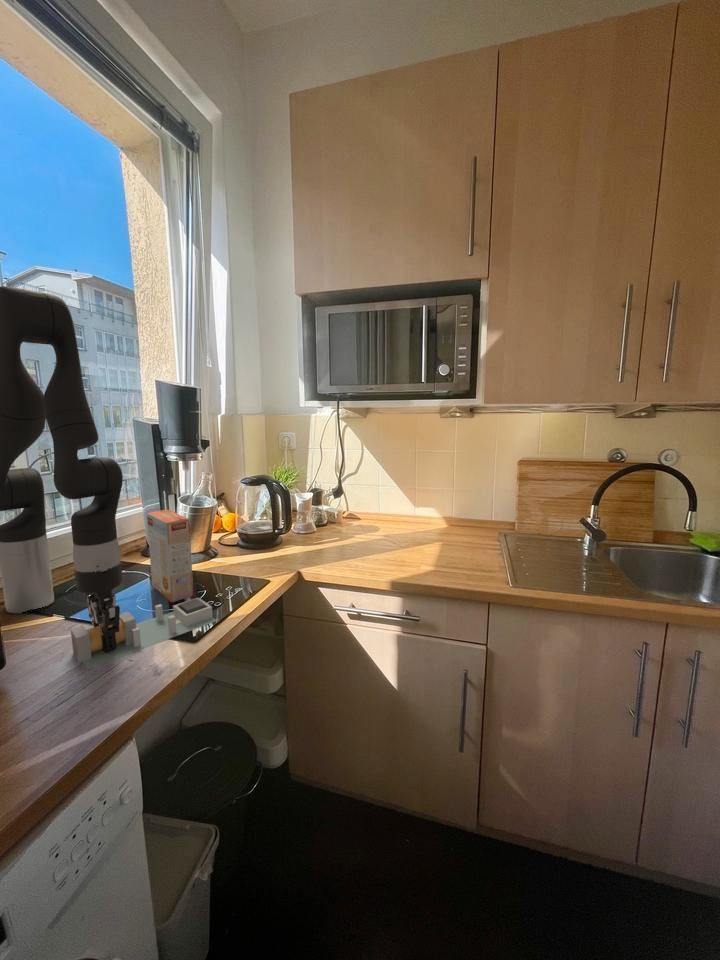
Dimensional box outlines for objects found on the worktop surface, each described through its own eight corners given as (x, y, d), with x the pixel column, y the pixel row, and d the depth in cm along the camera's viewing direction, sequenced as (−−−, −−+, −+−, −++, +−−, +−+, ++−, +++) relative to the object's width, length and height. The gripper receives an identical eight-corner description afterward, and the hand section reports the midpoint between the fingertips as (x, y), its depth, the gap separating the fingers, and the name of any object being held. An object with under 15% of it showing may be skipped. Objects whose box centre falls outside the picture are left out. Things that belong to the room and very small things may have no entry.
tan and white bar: (73, 653, 79) (70, 629, 79) (129, 633, 87) (128, 611, 86) (79, 662, 76) (76, 638, 76) (137, 641, 84) (135, 618, 83)
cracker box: (195, 598, 105) (190, 518, 101) (170, 605, 101) (165, 522, 97) (174, 581, 115) (169, 508, 111) (151, 587, 111) (145, 511, 107)
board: (72, 649, 82) (70, 629, 81) (195, 607, 100) (194, 590, 99) (87, 673, 75) (85, 651, 74) (217, 623, 92) (216, 605, 92)
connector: (180, 616, 94) (179, 604, 93) (197, 610, 97) (196, 598, 96) (188, 622, 91) (187, 610, 91) (205, 616, 94) (204, 604, 94)
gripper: (65, 558, 81) (74, 638, 84) (84, 579, 71) (94, 669, 74) (108, 549, 86) (115, 625, 89) (132, 567, 76) (139, 652, 79)
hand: (105, 645), depth 81 cm, fingers closed on tan and white bar, 4 cm apart
